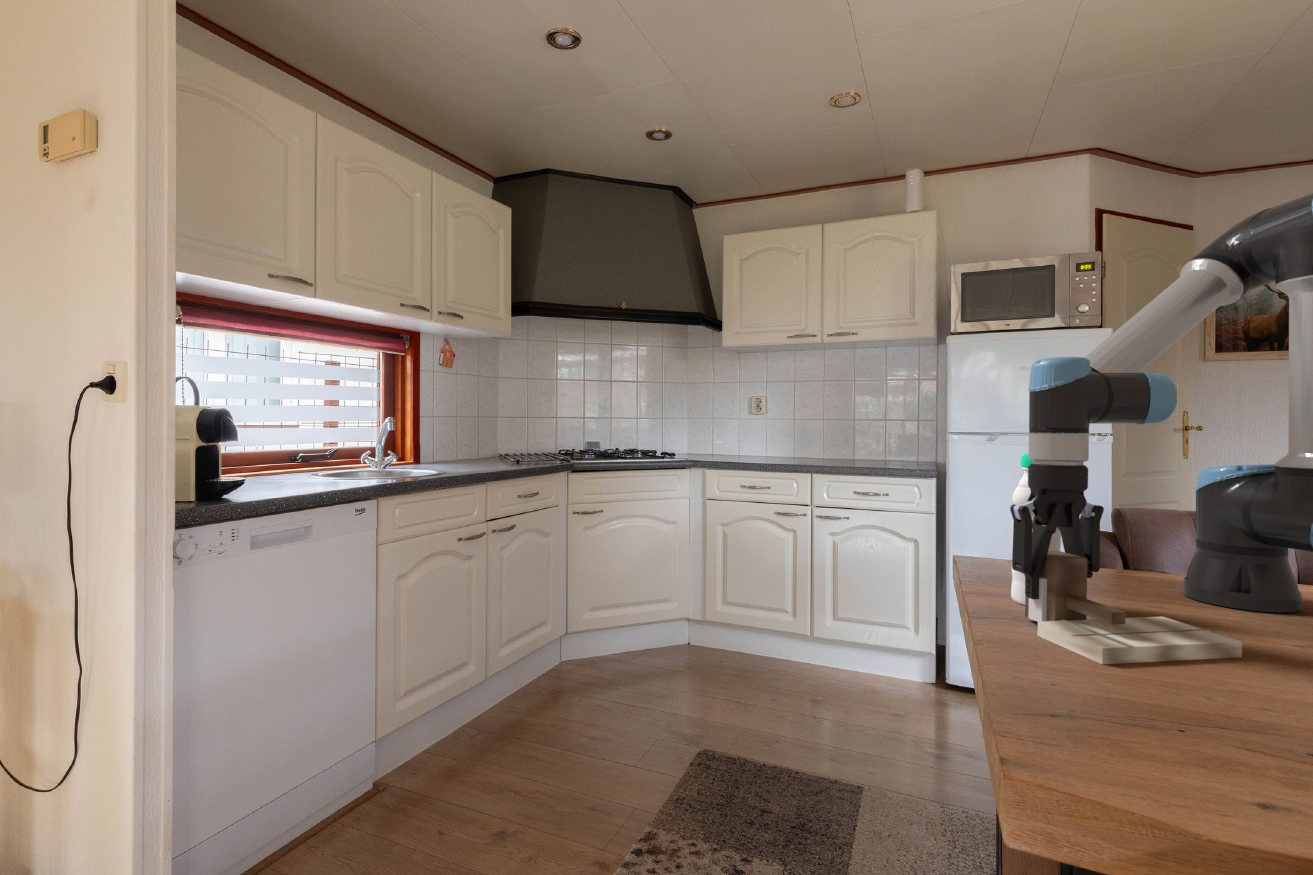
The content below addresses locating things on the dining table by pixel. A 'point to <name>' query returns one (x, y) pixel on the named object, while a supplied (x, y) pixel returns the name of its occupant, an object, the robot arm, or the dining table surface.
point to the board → (1138, 640)
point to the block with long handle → (1072, 591)
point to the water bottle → (1022, 497)
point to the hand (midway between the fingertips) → (1054, 619)
